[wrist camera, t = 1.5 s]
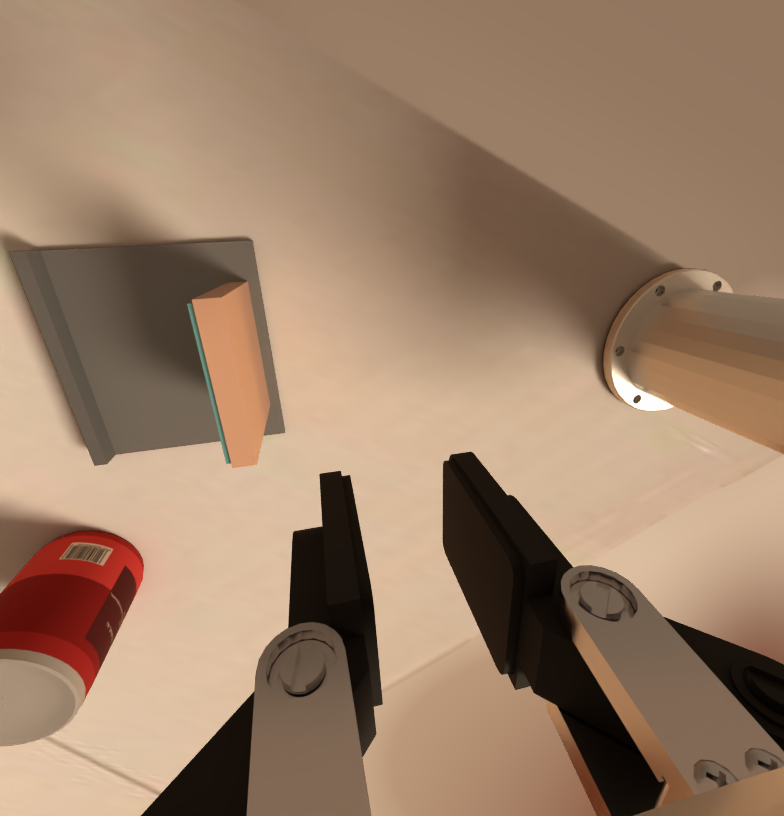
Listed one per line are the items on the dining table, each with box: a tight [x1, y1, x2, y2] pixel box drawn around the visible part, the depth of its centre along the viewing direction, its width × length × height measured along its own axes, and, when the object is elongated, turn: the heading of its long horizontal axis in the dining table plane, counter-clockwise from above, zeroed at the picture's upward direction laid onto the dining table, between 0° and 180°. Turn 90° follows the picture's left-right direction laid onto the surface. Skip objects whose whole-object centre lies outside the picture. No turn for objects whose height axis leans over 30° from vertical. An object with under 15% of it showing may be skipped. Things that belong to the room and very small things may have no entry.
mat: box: [9, 240, 285, 466], centre depth 27 cm, size 13×14×2 cm
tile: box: [187, 281, 270, 468], centre depth 24 cm, size 2×9×9 cm, turn 3°
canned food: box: [0, 531, 144, 746], centre depth 27 cm, size 8×8×11 cm
